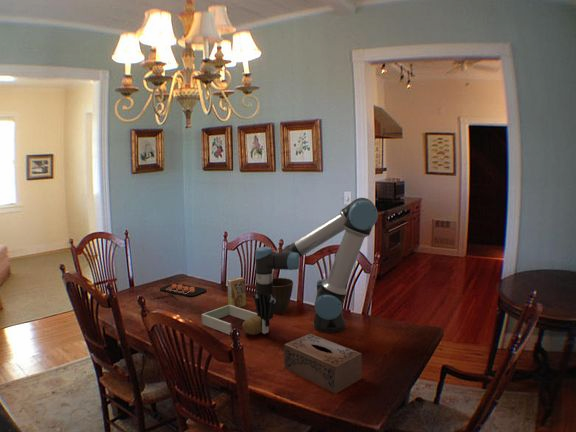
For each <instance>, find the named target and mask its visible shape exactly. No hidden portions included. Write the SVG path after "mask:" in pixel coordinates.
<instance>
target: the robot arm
mask: <svg viewBox="0 0 576 432" xmlns="http://www.w3.org/2000/svg"><path fill="white" fill-rule="evenodd" d="M378 218H379V214H378V209H377V206H376V205H375V204H374V203H373V201H372V200H370V199H368V198H367V197H358V198H356V199H354V200H353V201H351V202H350V203H348V205H346V206H345V207H343V208H342V209H340V212H339V213H338V214H336V215H335V216H333V217H331V218H330V219H329V220H327V221H326V222H324V223H322V224H320V225H319V226H318V227H316V228H314V229H312V230H311V231H309V232H307V234H305V235H303V236H301V237H300V238H299V239H297V240H295V241H294V242H292V243H291V244H288V245H285V247H283V248H282V251H281V252H279V251H278V252H276V251H275V252H274V250H273V248H272V247H270V246H269V247H267V246H260V247H257V248H256V249H255V257H254V260H255V261H254V262H255V290H256V294H253V295H252V298H253V300H254V304H255V308H256V313H257V315H258V316H260V318H261V325H262V332H261V333H262V334H264V335H266V334H268V333H269V331H270V328H269V327H270V320H272V319H273V318H274V314H275V313H274V309H275V304H276V302H277V299H274V298H273V295H272V290H273V282H272V281H273V277H274V274H273V273H274V272H273V271H274V270H281V271H283V270H285V271H287V270H289V271H293V270H295V271H296V270H299V269H300V263H301V262H300V259H301V258H302V257H303V256H305V255H306V254H308V253H309V252H311V251H313V250H314V249H317V247H319V246H320V245H323V244H324V243H326V242H327V241H330V240H331V239H333V238H334V237H335V236H337V235H338V234H340V233H342V232H343V231H344V233H343V237H342V239H341V241H340V244H339V247H338V249H337V252H336V256H335V257H334V260H333V263H332V266H331V269H330V271H329V273H328V276H327V278H322V279H319V280H317V282H316V296H315V302H314V310H315V317H314V320H313V328H314V330H315V331H317V332H319V333H325V334H335V333H336V334H337V333H340V332H343V331H344V330H345V329H346V320H345V318H344V315H343V305H344V301H345V299H346V297H347V294H348V291H347V289H346V287H347V284H348V282H349V279H350V277H351V274H352V271H353V270H354V266H355V264H356V260H357V258H358V256H359V254H360V250H361V249H362V248H361V247H362V246H363V243H364V240H365V238H367V237H369V236H370V235H371V232H372V230H373V227H374V226H375V224H376V223H377V222H378Z"/></svg>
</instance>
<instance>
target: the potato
mask: <svg viewBox="0 0 576 432" xmlns="http://www.w3.org/2000/svg"><path fill="white" fill-rule="evenodd" d="M242 329H243V331H244V332H245V333H246V334H248V335H252V336H253V335H254V336H255V335H259V334H261V333H262V325H261V318H260V316H258V315H256V316H253V317H251V318H249V319H247V320H244V321H243V322H242Z"/></svg>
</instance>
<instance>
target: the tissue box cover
mask: <svg viewBox="0 0 576 432" xmlns="http://www.w3.org/2000/svg"><path fill="white" fill-rule="evenodd" d="M283 349H284V350H283V351H284V352H283V354H284V355H283V359H284V361H283V362H284V369H285V370H287V371H289V372H291V373H293V374H295V375H298V376H299V377H301V378H303V379H304V380H307V381H309V382H311V383H314V385H315V384H316V385H317V386H319V387H321V388H324V389H325V390H328V391H329V392H332V393H334V394H339V392H341V391H343V390H345V389H346V388H348V387H350V386H352V385H354V384H355V383H357V382H358V381H359V380H361V379H362V373H363V372H362V369H363V367H362V360H363V359H362V358H363V355H362V352H359V351H357V350H354V349H352V348H349V347H346V346H343V345H341V344H339V343H337V342H333V341H330V340H328V339H325V338H323V337H320V336H317V335H315V334H313V333H308V334H306V335H303V336H301V337H299V338H296V339H294V340H292V341H288V342H287V343H284V345H283Z"/></svg>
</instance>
